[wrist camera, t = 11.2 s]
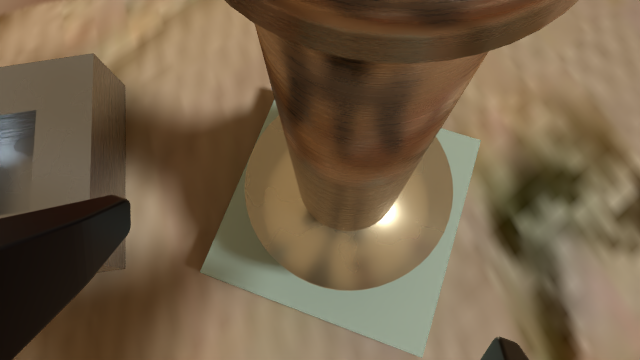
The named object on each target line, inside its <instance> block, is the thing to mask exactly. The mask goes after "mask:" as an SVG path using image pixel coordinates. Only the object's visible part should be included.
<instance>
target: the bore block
mask: <svg viewBox="0 0 640 360" xmlns="http://www.w3.org/2000/svg"><path fill="white" fill-rule="evenodd" d="M107 195H117V196H119V197H122V198H125V85H124V84H123V83H122V82H121V81H120V80H119V79H118V78H117V77H116V76H115V75H114V74H113V73H112V72H111V71H110V70H109V69H108V68H107V67H106V66H105V65H104V64H103V63H102V62H101V61H100V60H99V59H98V58H97V57H96V56H95V54H94V53H93V54H86V55H79V56H73V57H66V58H59V59H52V60H46V61H39V62H32V63H25V64H18V65H12V66H5V67H0V218H4V217H9V216H14V215H18V214H23V213H28V212H32V211H37V210H42V209H46V208H51V207H56V206H60V205H65V204H70V203H75V202H79V201H84V200H89V199H93V198H98V197H103V196H107ZM119 269H125V239H124V240H123V241H122V242H121V244H120V245H119V246H118V247H117V249H116V250H115V251H114V252H113V254H112V255H111V256H110V257H109V258H108V260H107V261H106V262H105V263H104V265H103V266H102V267H101V268H100V269H99V271H98V272H97V273H99V272H105V271H112V270H119Z"/></svg>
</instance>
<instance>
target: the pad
mask: <svg viewBox="0 0 640 360" xmlns="http://www.w3.org/2000/svg"><path fill="white" fill-rule="evenodd" d="M277 116H279V113H278V109H277V105H276V102H275V100H274V102H273V104H272V106H271V109H270V111H269V113H268V116H267V118H266V120H265V123H264V125H263V127H262V130H261V132H260V134H259V137H260V136H261V135H262V133H263V132H264V131H265V129H266V128H267V127H268V126H269V124H270V123H271V122H272V121H273V120H274V119H275V118H276V117H277ZM259 137H258V139H259ZM436 137H437V139H438V140H439V142H440V144H441V146H442V148H443V150H444V152H445V154H446V156H447V159H448V162H449V165H450V169H451V174H452V180H453V202H452V209H451V213H450V218H449V221H448V224H447V226H446V229H445V232H444V233H443V235H442V237H441V239H440V241H439V242H438V244H437V245H436V247H435V248H434V249H433V251H432V252H431V253H430V255H429V256H428V257H427V258H426V259H425V260H424V261H423V262H422V263H421V264H420V265H418V266H417V267H416V268H414V269H413V270H412V271H410V272H409V273H408V274H406V275H404V276H402V277H400V278H399V279H397V280H395V281H392V282H390V283H387V284H384V285H382V286H379V287H375V288H371V289H367V290H358V291H338V290H332V289H327V288H322V287H319V286H316V285H313V284H310V283H308V282H306V281H304V280H302V279H300V278H298V277H297V276H295V275H294V274H292V273H291V272H289V271H288V270H286V269H285V268H284V267H283V266H282V265H281V264H279V263H278V262H277V261H276V260H275V259H274V258H273V257H272V256H271V255H270V254H269V252H268V251H267V250H266V249H265V248H264V246H263V245H262V243H261V242H260V240H259V239H258V237H257V235H256V233H255V231H254V229H253V227H252V225H251V222H250V219H249V215H248V212H247V207H246V201H245V177H246V170H247V166H248V162H249V160H248V162H247V164H246V167H245V169H244V171H243V174H242V176H241V178H240V181H239V183H238V185H237V187H236V190H235V192H234V194H233V197H232V199H231V201H230V204H229V206H228V208H227V211H226V213H225V215H224V218H223V220H222V222H221V224H220V227H219V229H218V231H217V234H216V236H215V238H214V241H213V243H212V245H211V248H210V250H209V252H208V255H207V257H206V259H205V262H204V264H203V266H202V268H201V271H200V273H203V274H205V275H208V276H210V277H213V278H216V279H218V280H221V281H223V282H226V283H229V284H231V285H234V286H236V287H239V288H242V289H244V290H247V291H249V292H252V293H255V294H257V295H260V296H262V297H265V298H268V299H270V300H273V301H275V302H278V303H281V304H283V305H286V306H288V307H291V308H294V309H296V310H299V311H301V312H304V313H307V314H309V315H312V316H314V317H317V318H320V319H322V320H325V321H327V322H330V323H333V324H335V325H338V326H340V327H343V328H346V329H348V330H351V331H354V332H356V333H359V334H361V335H364V336H367V337H369V338H372V339H374V340H377V341H380V342H382V343H385V344H387V345H390V346H393V347H395V348H398V349H400V350H403V351H406V352H408V353H411V354H413V355H416V356H419V357H421V358H422V357H423V353H424V350H425V346H426V342H427V338H428V335H429V331H430V327H431V324H432V320H433V316H434V312H435V309H436V305H437V301H438V298H439V294H440V290H441V286H442V283H443V279H444V275H445V272H446V268H447V264H448V261H449V257H450V253H451V249H452V246H453V242H454V238H455V235H456V231H457V227H458V223H459V220H460V216H461V212H462V209H463V205H464V201H465V197H466V194H467V190H468V186H469V183H470V179H471V175H472V171H473V168H474V164H475V160H476V157H477V153H478V149H479V145H480V142H481V140H478V139H475V138H471V137H468V136H465V135H462V134H458V133H455V132H452V131H448V130H445V129H442V128H441V129H440V130H439V132H438V133H437V135H436ZM258 139H257V141H258ZM257 141H256V143H257ZM255 145H256V144H255ZM254 147H255V146H254ZM252 151H253V150H252ZM251 154H252V153H251ZM250 156H251V155H250ZM249 159H250V157H249Z"/></svg>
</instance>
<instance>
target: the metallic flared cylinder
mask: <svg viewBox="0 0 640 360" xmlns="http://www.w3.org/2000/svg"><path fill="white" fill-rule="evenodd" d="M225 1H226V2H227V3H228V4H229V5H230V6H231V7H232V8H234V9H235V10H237V11H238V12H239V13H241V14H242V15H244V16H245V17H246V18H248V19H249V20H250V21H252V22H253V23H255V27H256V30H257V34H258V38H259V42H260V45H261V49H262V53H263V57H264V60H265V64H266V68H267V72H268V75H269V79H270V83H271V87H272V90H273V94H274V98H275V102H276V105H277V109H278V113H279V116H277V117H276V118H275V119H274V120H273V121H272V122H271V123H270V124H269V126H268V127H267V128H266V129H265V131H264V132H263V133H262V135H261V136H260V137H259V139H258V141H257V143H256V145H255V147H254V148H253V151H252V154H251V156H250V159H249V162H248V166H247V170H246V177H245V201H246V207H247V212H248V215H249V219H250V222H251V225H252V227H253V229H254V231H255V233H256V235H257V237H258V239H259V240H260V242H261V243H262V245H263V246H264V248H265V249H266V250H267V251H268V252H269V254H270V255H271V256H272V257H273V258H274V259H275V260H276V261H277V262H278V263H279V264H281V265H282V266H283V267H284V268H285V269H286V270H288V271H289V272H291V273H292V274H294V275H295V276H297V277H298V278H300V279H302V280H304V281H306V282H308V283H310V284H313V285H316V286H319V287H322V288H327V289H332V290H338V291H358V290H367V289H371V288H375V287H379V286H382V285H384V284H387V283H390V282H392V281H395V280H397V279H399V278H400V277H402V276H404V275H406V274H408V273H409V272H410V271H412V270H413V269H414V268H416V267H417V266H418V265H420V264H421V263H422V262H423V261H424V260H425V259H426V258H427V257H428V256H429V255H430V253H431V252H432V251H433V249H434V248H435V247H436V245H437V244H438V242H439V241H440V239H441V237H442V235H443V233H444V232H445V229H446V226H447V224H448V221H449V218H450V213H451V209H452V202H453V180H452V174H451V169H450V165H449V162H448V159H447V156H446V154H445V152H444V150H443V148H442V146H441V144H440V142H439V140H438V139H437V137H436V135H437V133H438V132H439V130H440V129H441V127H442V125H443V124H444V122H445V121H446V119H447V117H448V116H449V114H450V113H451V111H452V109H453V108H454V106H455V105H456V103H457V101H458V100H459V98H460V97H461V95H462V93H463V92H464V90H465V89H466V87H467V85H468V84H469V82H470V80H471V79H472V77H473V76H474V74H475V72H476V71H477V69H478V68H479V66H480V64H481V63H482V61H483V60H484V58H485V56H486V55H487V53H488V52H489V51H490V50H493V49H496V48H499V47H502V46H505V45H508V44H511V43H513V42H515V41H518V40H520V39H522V38H524V37H526V36H528V35H530V34H532V33H534V32H536V31H538V30H540V29H542V28H543V27H545V26H546V25H547V24H549V23H550V22H552V21H553V20H555V19H556V18H558V17H559V16H561V15H562V14H564V13H565V12H566V11H567V10H568V9H570V8H571V7H572V6H573V5H574V4H575V3H576V2H577V1H578V0H225Z"/></svg>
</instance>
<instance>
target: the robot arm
mask: <svg viewBox="0 0 640 360" xmlns="http://www.w3.org/2000/svg"><path fill="white" fill-rule="evenodd" d="M130 226H131V220H130V203H129V201H128V200H127V199H125V198H122V197H119V196H117V195H107V196H103V197H98V198H93V199H89V200H84V201H79V202H75V203H70V204H65V205H60V206H56V207H51V208H46V209H42V210H37V211H32V212H28V213H23V214H18V215H14V216H9V217H4V218H0V360H12V359H13V358H14V357H15V356H16V355H17V354H18V353H19V352H20V351H21V350H22V349H23V348H24V347H25V346H26V345H27V344H28V343H29V342H30V341H31V340H32V339H33V338H34V337H35V336H36V335H37V334H38V333H39V332H40V331H41V330H42V329H43V328H44V327H45V326H46V325H47V324H48V323H49V322H50V321H51V320H52V319H53V318H54V317H55V316H56V315H57V314H58V313H59V312H60V311H61V310H62V309H63V308H64V307H65V306H66V305H67V304H68V303H69V302H70V301H71V300H72V299H73V298H74V297H75V296H76V295H77V294H78V293H79V292H80V291H81V290H82V289H83V288H84V287H85V286H86V285H87V284H88V283H89V281H90V280H91V279H92V278H93V277H94V276H95V274H96V273H97V272H98V271H99V269H100V268H101V267H102V266H103V265H104V263H105V262H106V261H107V260H108V258H109V257H110V256H111V255H112V254H113V252H114V251H115V250H116V249H117V247H118V246H119V245H120V244H121V242H122V241H123V240H124V239H125V238H126V236H127V235H128V233H129V231H130ZM481 360H529V359H528V358H527V356H526V355H525V353H524V352H523V351H522V349H521V348H520V346H519V345H518V344H517V343H515V342H513V341H510V340H508V339H505V338H502V337H496V338H495V339H494V340H493V341H492V343H491V344H490V346H489V348H488V349H487V351H486V352H485V354H484V355H483V357H482V358H481Z"/></svg>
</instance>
